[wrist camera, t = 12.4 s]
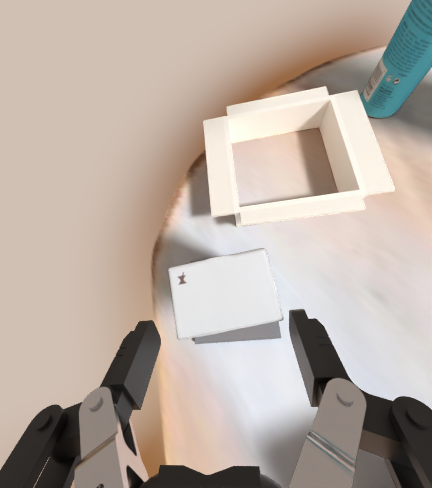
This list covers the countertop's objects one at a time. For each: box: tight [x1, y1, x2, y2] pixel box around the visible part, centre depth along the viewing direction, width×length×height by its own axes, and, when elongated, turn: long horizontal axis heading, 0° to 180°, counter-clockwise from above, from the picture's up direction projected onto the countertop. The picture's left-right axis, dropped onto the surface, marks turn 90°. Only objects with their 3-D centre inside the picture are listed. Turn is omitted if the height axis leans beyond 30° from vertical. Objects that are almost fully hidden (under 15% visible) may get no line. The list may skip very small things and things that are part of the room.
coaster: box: [191, 254, 281, 344], centre depth 23 cm, size 9×9×1 cm
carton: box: [203, 86, 395, 226], centre depth 25 cm, size 18×16×4 cm
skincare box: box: [168, 248, 283, 340], centre depth 17 cm, size 6×4×12 cm
